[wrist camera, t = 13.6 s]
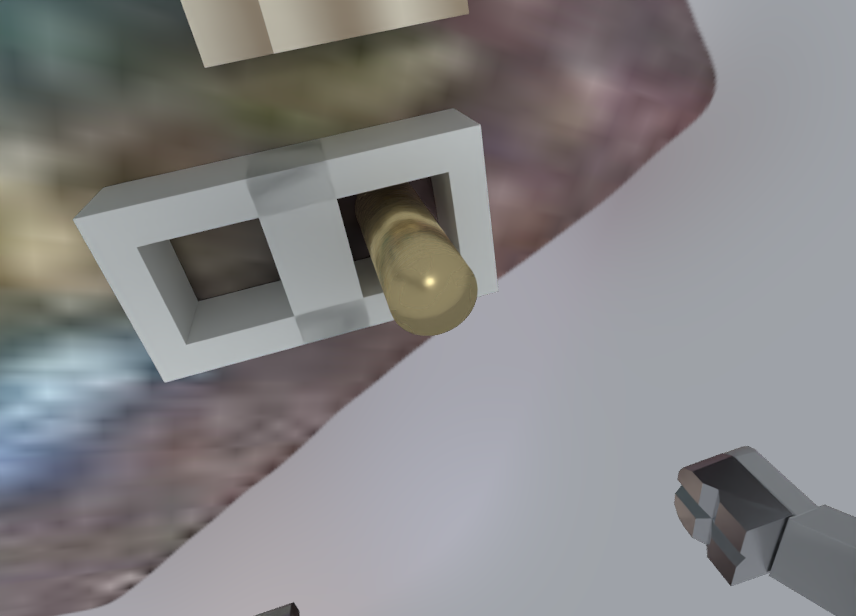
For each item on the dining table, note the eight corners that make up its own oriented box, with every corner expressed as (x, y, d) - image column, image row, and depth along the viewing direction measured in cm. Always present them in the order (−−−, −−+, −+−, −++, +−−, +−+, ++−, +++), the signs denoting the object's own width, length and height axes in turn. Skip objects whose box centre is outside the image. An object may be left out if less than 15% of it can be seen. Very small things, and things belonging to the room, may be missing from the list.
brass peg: (363, 243, 34) (398, 345, 24) (347, 183, 32) (379, 268, 22) (422, 228, 34) (482, 322, 24) (411, 168, 32) (472, 244, 22)
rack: (178, 335, 34) (164, 382, 30) (103, 187, 29) (72, 219, 24) (473, 257, 36) (498, 291, 32) (453, 107, 31) (480, 124, 27)
